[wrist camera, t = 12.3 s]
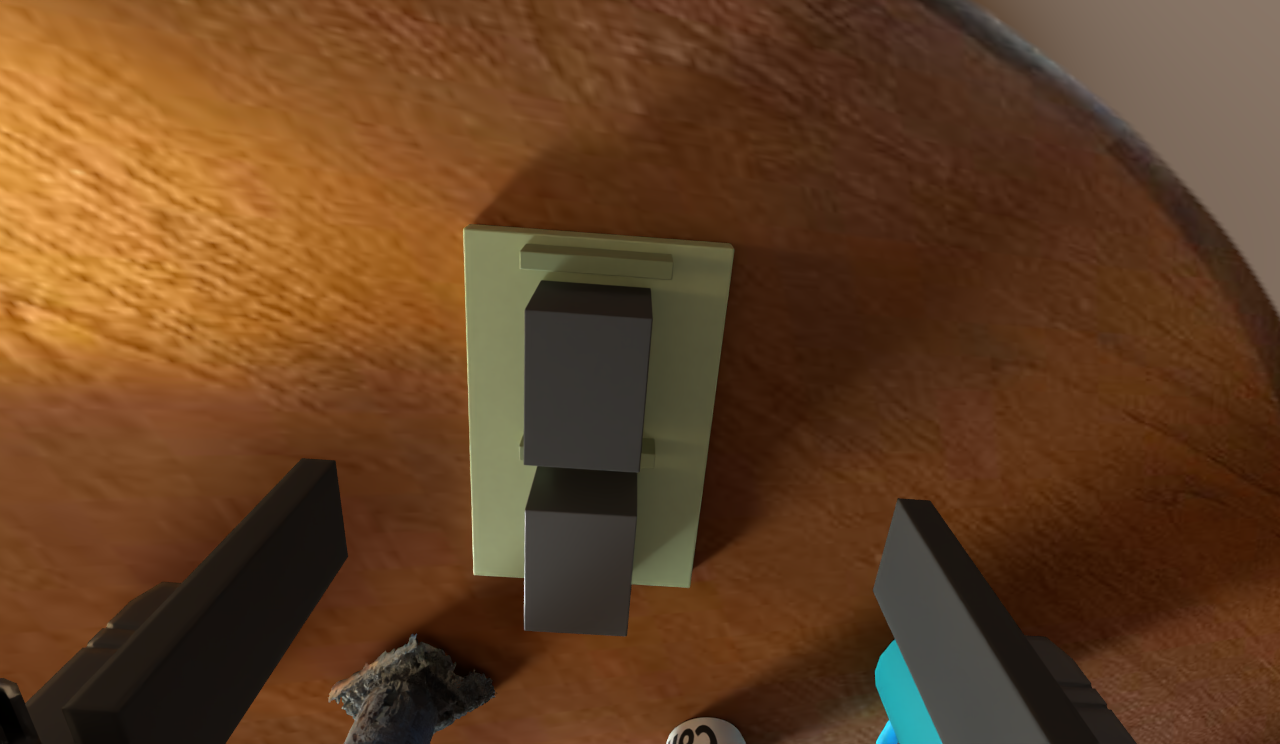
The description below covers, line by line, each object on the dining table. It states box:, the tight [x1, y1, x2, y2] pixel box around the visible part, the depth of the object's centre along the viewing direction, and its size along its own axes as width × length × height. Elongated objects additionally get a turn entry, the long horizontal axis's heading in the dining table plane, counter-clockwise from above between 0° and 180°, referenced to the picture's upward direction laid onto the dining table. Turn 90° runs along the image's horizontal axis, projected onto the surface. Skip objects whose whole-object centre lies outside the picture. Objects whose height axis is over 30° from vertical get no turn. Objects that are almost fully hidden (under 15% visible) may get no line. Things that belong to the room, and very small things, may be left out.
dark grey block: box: [523, 280, 653, 472], centre depth 28 cm, size 7×5×4 cm
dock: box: [463, 224, 734, 636], centre depth 31 cm, size 19×12×6 cm, turn 176°
